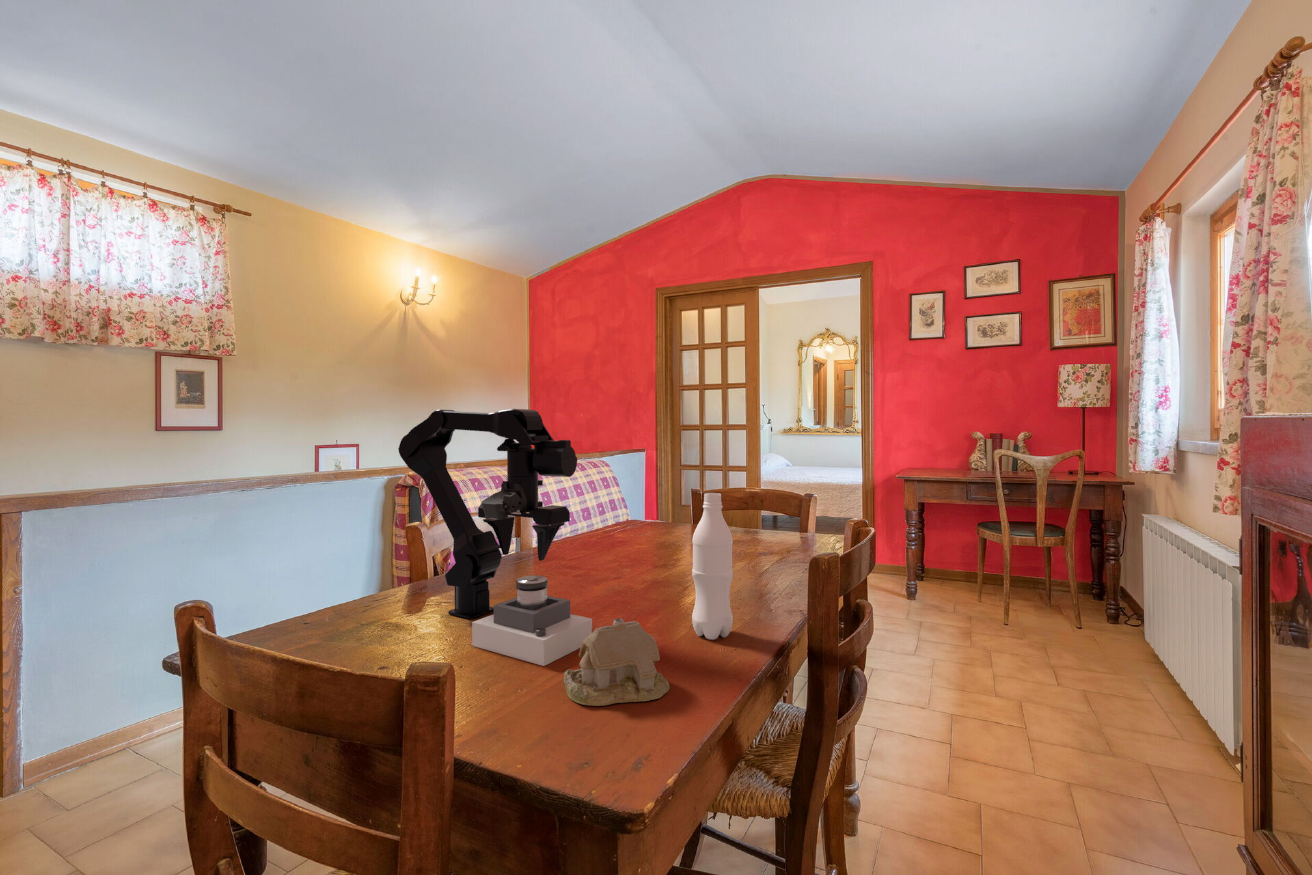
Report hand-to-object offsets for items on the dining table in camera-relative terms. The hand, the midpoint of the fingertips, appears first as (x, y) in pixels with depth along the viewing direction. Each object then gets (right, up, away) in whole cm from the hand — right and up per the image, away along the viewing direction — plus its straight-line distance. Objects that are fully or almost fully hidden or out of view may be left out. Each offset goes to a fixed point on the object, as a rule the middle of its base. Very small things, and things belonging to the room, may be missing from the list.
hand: (523, 557), depth 112 cm
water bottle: (+35, -12, -7) cm, 38 cm away
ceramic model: (+20, -13, -29) cm, 37 cm away
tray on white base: (+4, -12, -12) cm, 17 cm away
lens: (+4, -8, -12) cm, 15 cm away
